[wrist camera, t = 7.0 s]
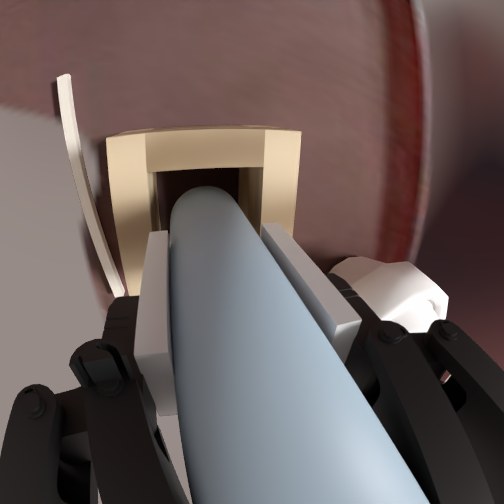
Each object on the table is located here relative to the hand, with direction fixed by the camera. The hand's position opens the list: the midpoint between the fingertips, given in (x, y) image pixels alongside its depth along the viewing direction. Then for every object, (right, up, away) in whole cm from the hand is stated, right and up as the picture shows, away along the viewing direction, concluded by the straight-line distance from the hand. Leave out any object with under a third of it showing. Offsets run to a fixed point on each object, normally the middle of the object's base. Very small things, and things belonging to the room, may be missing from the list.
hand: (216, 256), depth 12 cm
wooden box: (-2, +4, +8) cm, 10 cm away
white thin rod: (-11, +5, +6) cm, 13 cm away
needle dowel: (-1, +2, +4) cm, 4 cm away
